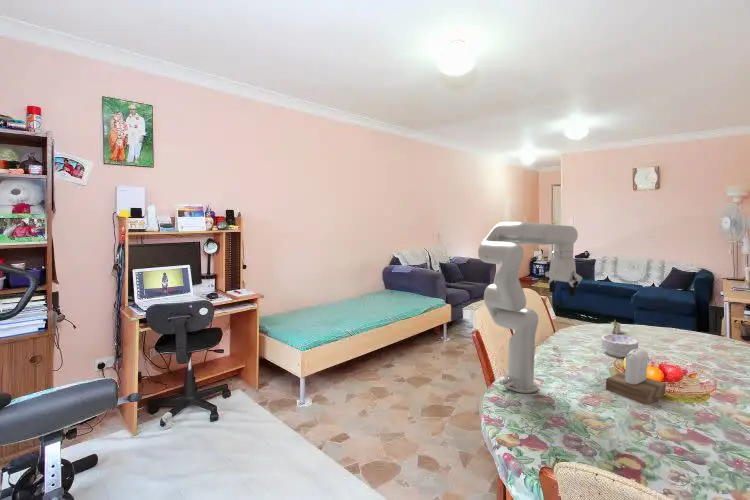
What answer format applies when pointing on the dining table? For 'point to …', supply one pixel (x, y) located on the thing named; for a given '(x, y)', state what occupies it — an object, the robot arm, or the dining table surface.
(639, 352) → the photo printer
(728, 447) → the dining table surface
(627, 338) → the paper bowls
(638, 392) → the walnut block
